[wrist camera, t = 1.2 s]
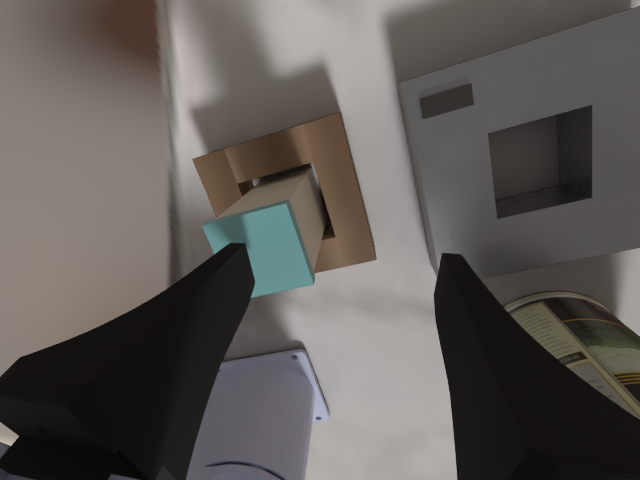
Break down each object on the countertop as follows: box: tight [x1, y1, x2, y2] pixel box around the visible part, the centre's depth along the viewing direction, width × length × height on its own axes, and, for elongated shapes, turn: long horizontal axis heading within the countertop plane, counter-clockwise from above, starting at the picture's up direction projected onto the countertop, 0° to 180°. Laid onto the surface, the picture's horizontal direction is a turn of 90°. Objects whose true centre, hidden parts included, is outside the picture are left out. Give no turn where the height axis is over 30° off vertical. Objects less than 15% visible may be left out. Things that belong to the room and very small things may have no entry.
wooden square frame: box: [192, 112, 377, 273], centre depth 21 cm, size 9×9×2 cm
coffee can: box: [504, 292, 640, 419], centre depth 18 cm, size 10×10×14 cm
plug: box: [202, 167, 327, 298], centre depth 18 cm, size 4×4×9 cm
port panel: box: [397, 6, 640, 279], centre depth 18 cm, size 12×12×3 cm
